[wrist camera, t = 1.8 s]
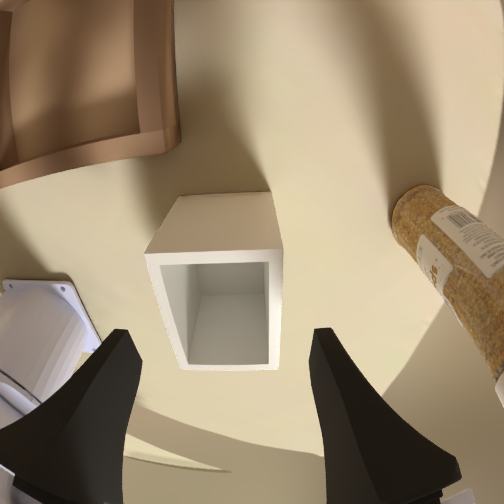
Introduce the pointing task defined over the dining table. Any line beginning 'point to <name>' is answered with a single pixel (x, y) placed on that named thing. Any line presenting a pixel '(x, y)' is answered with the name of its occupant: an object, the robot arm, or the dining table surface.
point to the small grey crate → (220, 280)
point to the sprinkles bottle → (458, 266)
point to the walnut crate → (84, 84)
